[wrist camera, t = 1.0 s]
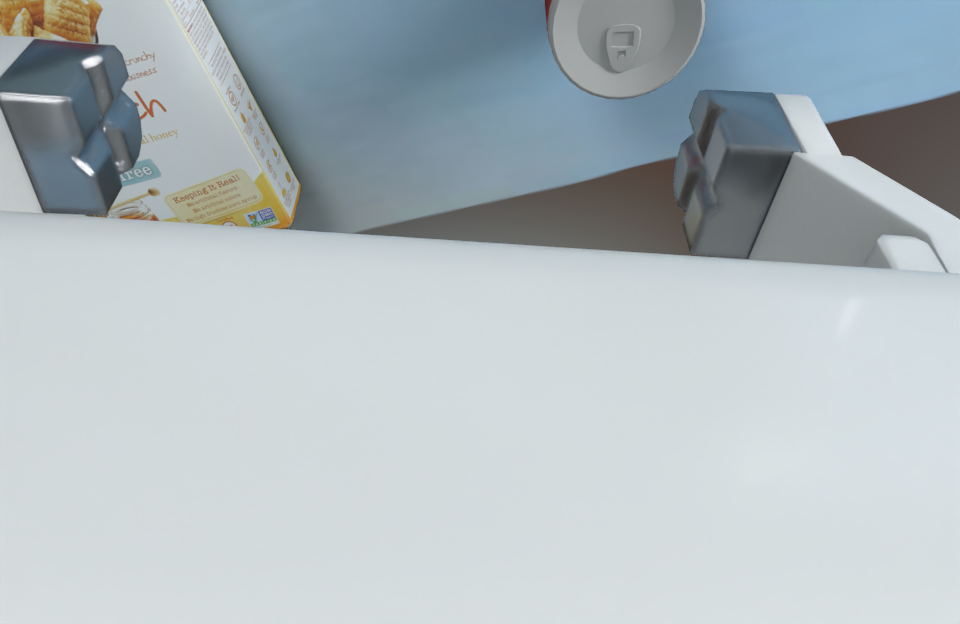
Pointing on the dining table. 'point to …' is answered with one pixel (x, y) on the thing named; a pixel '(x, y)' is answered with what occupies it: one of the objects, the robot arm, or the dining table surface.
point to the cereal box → (178, 112)
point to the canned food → (623, 42)
